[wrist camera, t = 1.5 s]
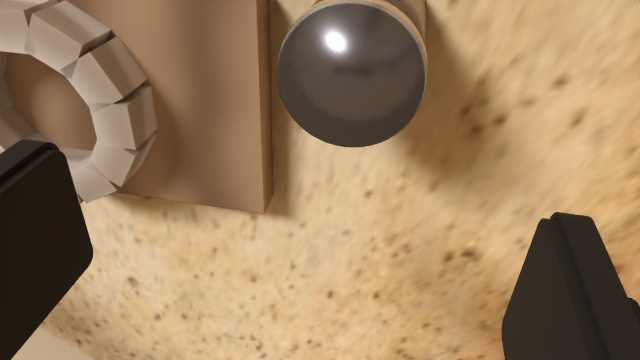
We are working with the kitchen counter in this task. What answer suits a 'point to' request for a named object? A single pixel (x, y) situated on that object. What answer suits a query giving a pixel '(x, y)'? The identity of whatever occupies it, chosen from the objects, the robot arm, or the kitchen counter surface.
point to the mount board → (187, 98)
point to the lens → (355, 69)
